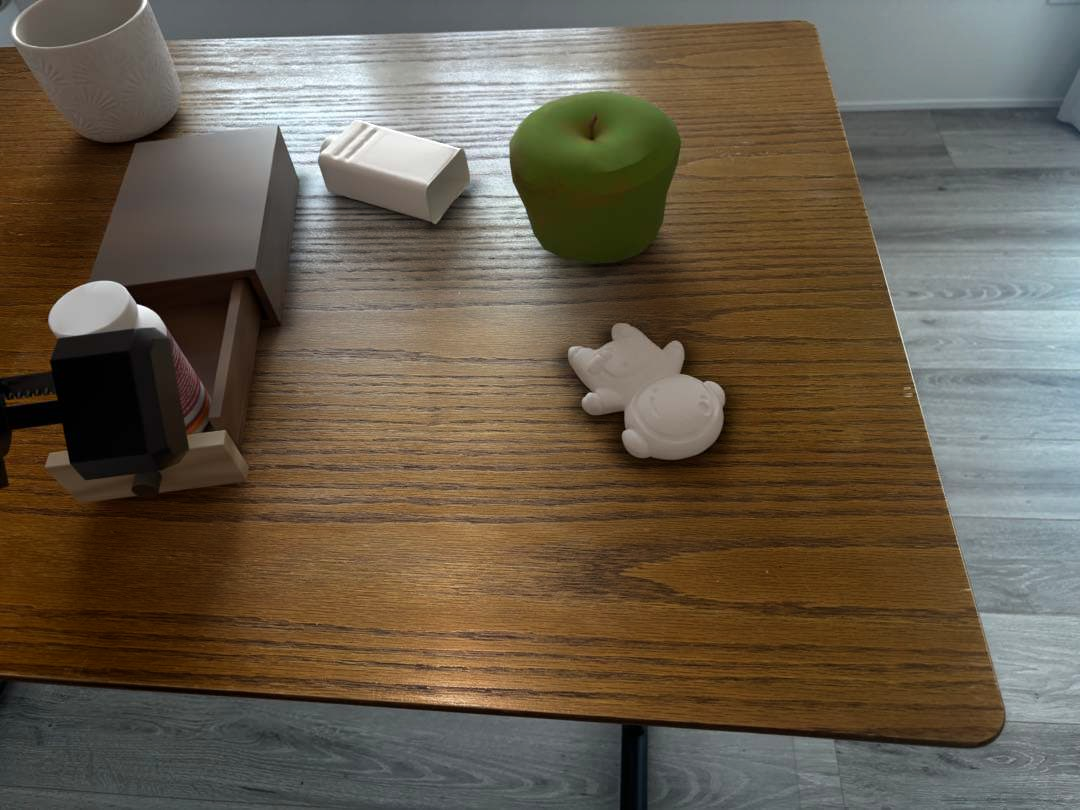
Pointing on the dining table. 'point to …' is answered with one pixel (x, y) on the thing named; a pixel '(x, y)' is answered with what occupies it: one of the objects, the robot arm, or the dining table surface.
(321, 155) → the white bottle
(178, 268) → the cabinet
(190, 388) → the pill bottle
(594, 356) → the white cartoon figurine
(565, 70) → the dining table surface
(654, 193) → the apple
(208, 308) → the drawer
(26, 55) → the planter
